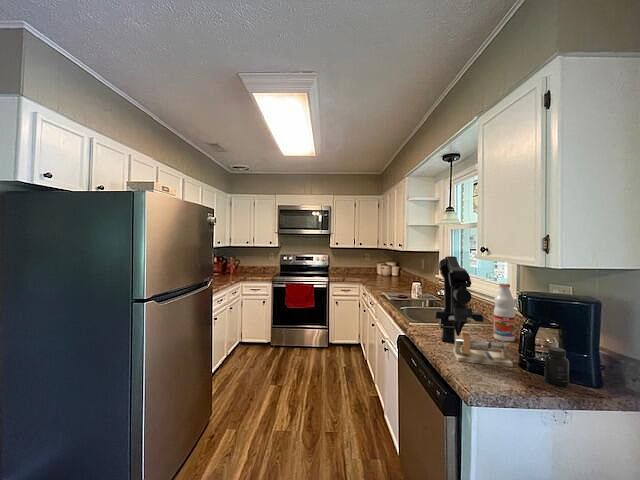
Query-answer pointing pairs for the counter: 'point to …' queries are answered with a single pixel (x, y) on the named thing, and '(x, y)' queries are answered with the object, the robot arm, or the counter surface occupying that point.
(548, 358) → the supplement bottle
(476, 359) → the stand
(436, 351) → the counter surface
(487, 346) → the pipe
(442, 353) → the counter surface
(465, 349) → the slotted orange block
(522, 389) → the counter surface
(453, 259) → the robot arm
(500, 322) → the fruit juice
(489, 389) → the counter surface
